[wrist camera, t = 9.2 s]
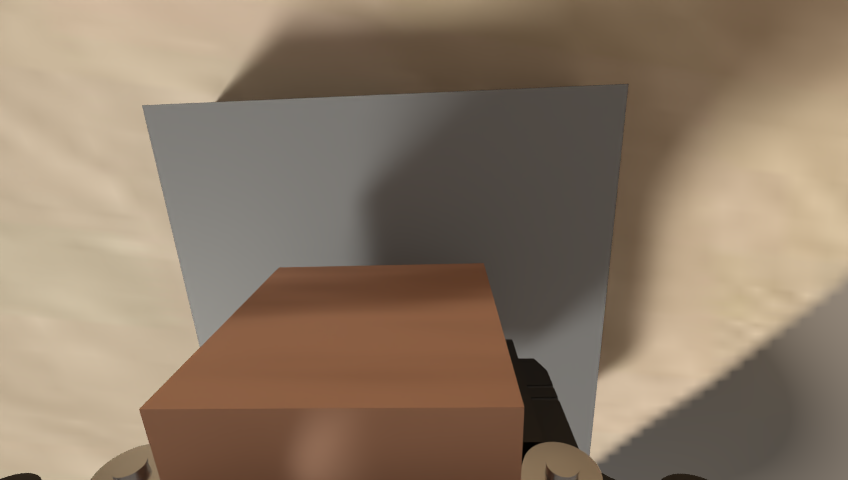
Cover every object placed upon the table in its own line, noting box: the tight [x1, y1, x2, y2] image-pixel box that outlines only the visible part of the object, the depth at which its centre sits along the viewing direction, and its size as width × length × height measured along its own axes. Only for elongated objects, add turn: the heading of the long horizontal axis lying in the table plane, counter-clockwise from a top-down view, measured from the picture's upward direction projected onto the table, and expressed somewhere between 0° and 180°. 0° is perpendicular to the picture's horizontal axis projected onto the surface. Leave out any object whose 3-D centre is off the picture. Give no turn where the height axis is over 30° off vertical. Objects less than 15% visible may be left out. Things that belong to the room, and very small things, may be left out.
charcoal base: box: [142, 84, 628, 456], centre depth 16 cm, size 14×14×4 cm
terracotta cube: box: [139, 263, 524, 480], centre depth 9 cm, size 6×6×6 cm
